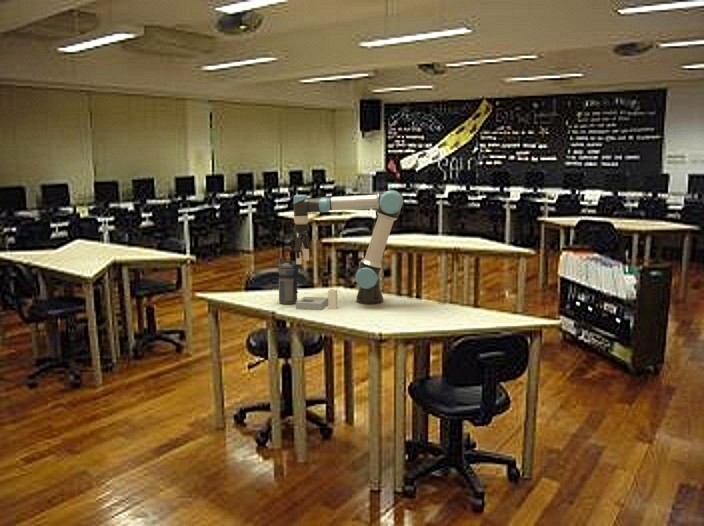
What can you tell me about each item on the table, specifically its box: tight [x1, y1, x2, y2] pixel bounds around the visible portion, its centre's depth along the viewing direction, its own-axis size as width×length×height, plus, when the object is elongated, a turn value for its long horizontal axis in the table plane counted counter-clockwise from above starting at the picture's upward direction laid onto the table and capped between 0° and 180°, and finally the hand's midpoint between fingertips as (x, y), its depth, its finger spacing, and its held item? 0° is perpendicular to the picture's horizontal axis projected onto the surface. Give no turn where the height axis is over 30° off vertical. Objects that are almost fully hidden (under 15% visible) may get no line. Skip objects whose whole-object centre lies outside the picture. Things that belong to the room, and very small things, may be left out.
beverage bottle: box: [277, 257, 300, 305], centre depth 347 cm, size 10×13×25 cm
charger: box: [327, 288, 338, 310], centre depth 334 cm, size 4×4×10 cm
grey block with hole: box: [295, 296, 328, 311], centre depth 339 cm, size 14×16×4 cm
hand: (302, 262), depth 340 cm, fingers open, 13 cm apart
